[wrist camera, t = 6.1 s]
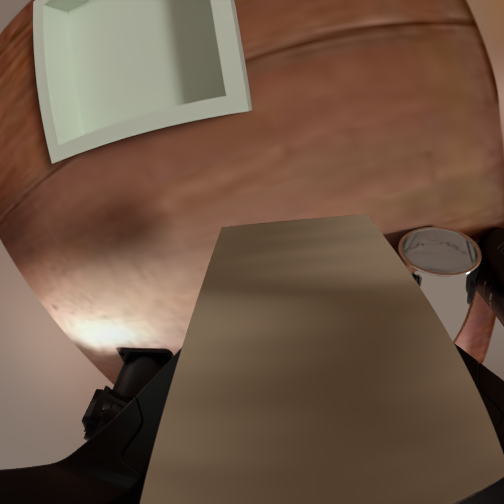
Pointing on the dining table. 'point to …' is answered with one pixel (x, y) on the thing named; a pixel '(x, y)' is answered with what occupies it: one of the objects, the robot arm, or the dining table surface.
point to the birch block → (318, 380)
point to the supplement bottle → (492, 272)
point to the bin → (134, 68)
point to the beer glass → (444, 272)
